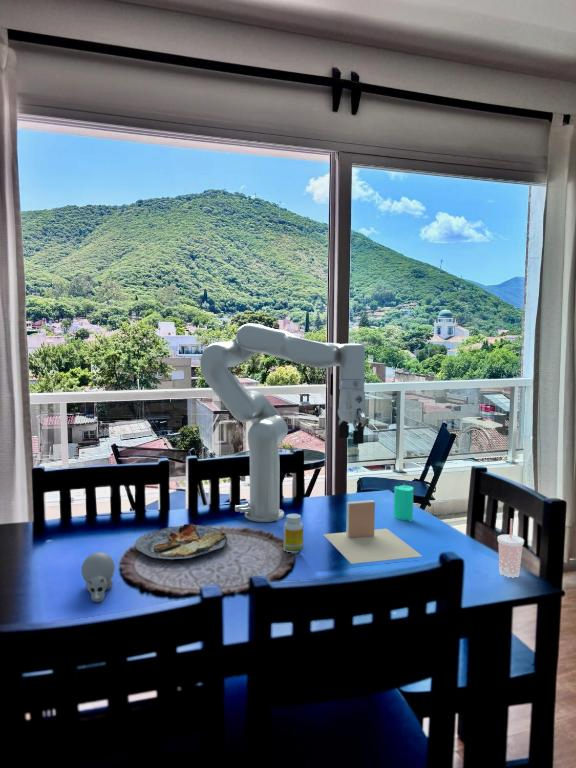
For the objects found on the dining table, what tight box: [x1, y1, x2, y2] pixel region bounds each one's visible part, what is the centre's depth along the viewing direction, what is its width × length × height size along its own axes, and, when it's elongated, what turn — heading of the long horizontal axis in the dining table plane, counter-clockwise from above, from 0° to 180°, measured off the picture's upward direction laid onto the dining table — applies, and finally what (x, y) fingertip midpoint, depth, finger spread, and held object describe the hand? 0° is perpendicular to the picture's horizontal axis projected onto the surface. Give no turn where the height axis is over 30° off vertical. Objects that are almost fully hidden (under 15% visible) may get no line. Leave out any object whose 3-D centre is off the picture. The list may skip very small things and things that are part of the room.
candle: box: [393, 484, 415, 523], centre depth 183 cm, size 6×6×12 cm
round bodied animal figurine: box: [80, 552, 116, 603], centre depth 130 cm, size 7×12×8 cm, turn 13°
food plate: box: [134, 523, 228, 561], centre depth 159 cm, size 25×23×4 cm
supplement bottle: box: [282, 513, 304, 554], centre depth 157 cm, size 5×5×10 cm
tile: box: [345, 499, 376, 538], centre depth 165 cm, size 8×2×10 cm, turn 105°
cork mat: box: [322, 528, 423, 565], centre depth 159 cm, size 20×22×1 cm
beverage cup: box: [497, 518, 525, 579], centre depth 142 cm, size 6×6×14 cm
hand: (350, 440), depth 175 cm, fingers open, 9 cm apart
